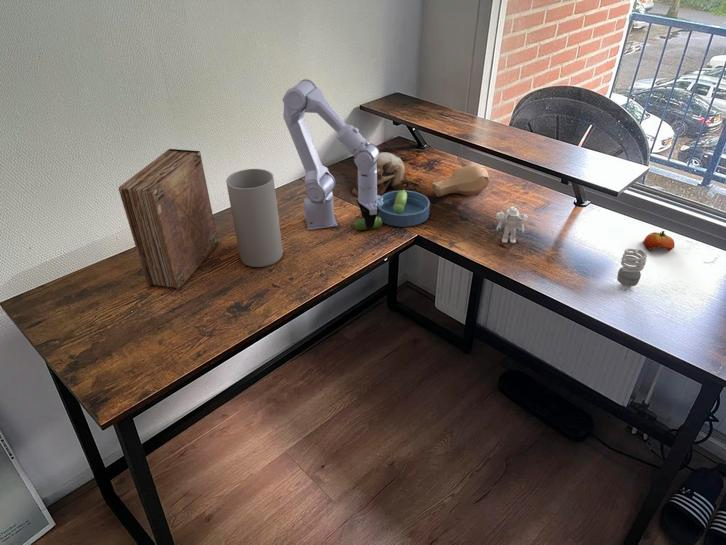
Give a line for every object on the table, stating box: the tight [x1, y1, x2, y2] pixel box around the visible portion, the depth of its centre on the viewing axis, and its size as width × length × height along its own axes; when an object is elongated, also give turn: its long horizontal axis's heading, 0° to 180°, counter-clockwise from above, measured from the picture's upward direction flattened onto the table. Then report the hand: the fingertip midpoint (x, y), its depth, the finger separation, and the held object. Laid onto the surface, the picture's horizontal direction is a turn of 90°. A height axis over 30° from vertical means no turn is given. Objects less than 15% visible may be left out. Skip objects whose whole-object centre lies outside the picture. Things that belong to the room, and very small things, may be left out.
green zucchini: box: [350, 216, 383, 231], centre depth 174 cm, size 10×4×4 cm, turn 103°
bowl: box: [376, 190, 431, 228], centre depth 181 cm, size 17×17×4 cm
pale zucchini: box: [393, 188, 407, 213], centre depth 183 cm, size 10×4×4 cm, turn 165°
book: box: [118, 148, 219, 291], centre depth 153 cm, size 25×9×30 cm, turn 167°
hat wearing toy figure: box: [495, 204, 528, 244], centre depth 164 cm, size 9×4×12 cm, turn 80°
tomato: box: [642, 230, 676, 253], centre depth 161 cm, size 8×7×7 cm
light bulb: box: [616, 248, 648, 290], centre depth 143 cm, size 6×6×12 cm
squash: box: [431, 164, 490, 198], centre depth 192 cm, size 11×20×9 cm, turn 107°
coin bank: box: [351, 152, 406, 197], centre depth 195 cm, size 16×17×13 cm
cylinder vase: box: [225, 168, 284, 268], centre depth 156 cm, size 12×12×25 cm
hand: (368, 224), depth 174 cm, fingers closed on green zucchini, 3 cm apart
